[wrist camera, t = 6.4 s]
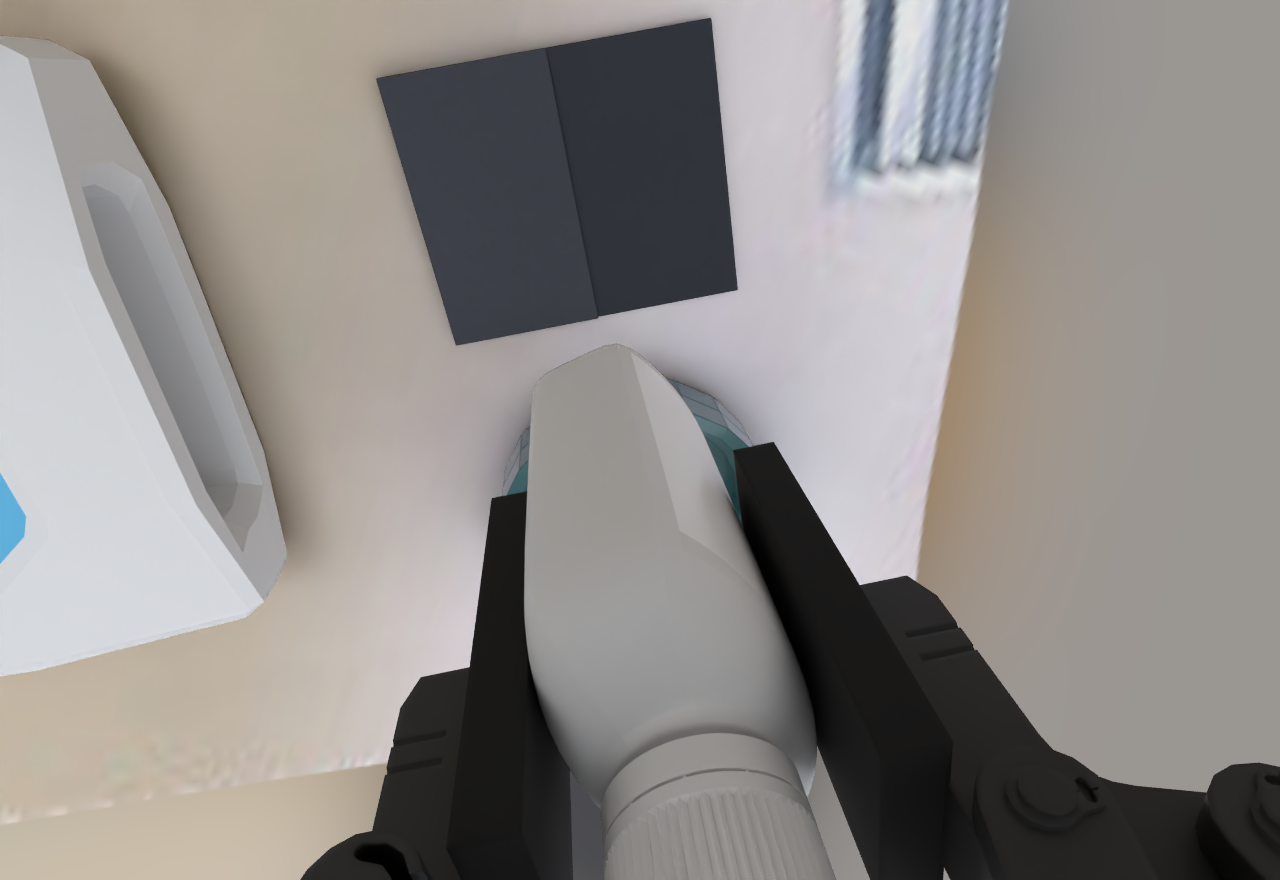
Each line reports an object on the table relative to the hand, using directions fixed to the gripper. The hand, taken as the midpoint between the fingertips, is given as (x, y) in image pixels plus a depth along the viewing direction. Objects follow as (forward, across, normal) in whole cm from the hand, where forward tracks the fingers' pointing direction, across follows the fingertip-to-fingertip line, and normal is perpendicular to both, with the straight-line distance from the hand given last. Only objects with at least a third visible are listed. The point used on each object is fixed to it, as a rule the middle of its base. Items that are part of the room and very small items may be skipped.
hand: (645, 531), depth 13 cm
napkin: (+18, 0, +4) cm, 18 cm away
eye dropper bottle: (+3, 0, 0) cm, 3 cm away
